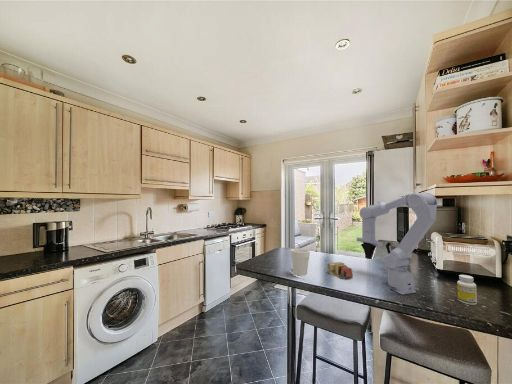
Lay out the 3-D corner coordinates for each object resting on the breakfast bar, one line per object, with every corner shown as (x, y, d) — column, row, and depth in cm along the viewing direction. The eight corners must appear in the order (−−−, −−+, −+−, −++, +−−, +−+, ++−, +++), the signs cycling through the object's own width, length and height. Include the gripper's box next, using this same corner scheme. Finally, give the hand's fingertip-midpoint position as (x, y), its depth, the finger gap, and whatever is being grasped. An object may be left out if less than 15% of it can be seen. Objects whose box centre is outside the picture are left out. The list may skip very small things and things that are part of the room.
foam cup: (303, 272, 117) (303, 247, 118) (313, 278, 109) (313, 251, 109) (287, 274, 114) (287, 249, 115) (296, 280, 106) (296, 253, 106)
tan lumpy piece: (346, 275, 108) (346, 265, 108) (338, 276, 107) (338, 266, 107) (342, 273, 111) (342, 263, 111) (334, 274, 110) (334, 264, 110)
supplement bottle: (460, 297, 88) (460, 273, 89) (479, 303, 84) (478, 277, 84) (454, 300, 86) (454, 275, 86) (473, 306, 81) (472, 279, 81)
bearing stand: (356, 281, 105) (356, 267, 106) (339, 283, 102) (339, 269, 103) (341, 273, 116) (341, 261, 116) (325, 275, 113) (325, 263, 113)
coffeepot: (420, 278, 111) (419, 242, 111) (406, 279, 108) (405, 243, 108) (392, 268, 125) (392, 237, 126) (380, 270, 122) (379, 237, 123)
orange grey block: (351, 276, 104) (351, 268, 104) (346, 276, 103) (346, 269, 103) (337, 269, 114) (337, 262, 114) (332, 269, 113) (332, 262, 113)
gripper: (387, 233, 105) (387, 261, 104) (364, 229, 118) (364, 254, 118) (375, 233, 102) (375, 262, 102) (353, 229, 116) (353, 255, 116)
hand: (368, 258), depth 110 cm, fingers closed
